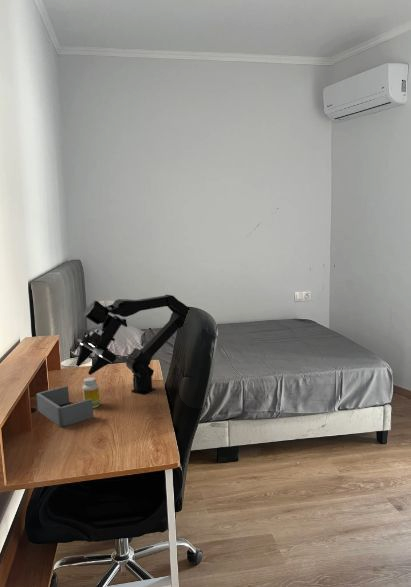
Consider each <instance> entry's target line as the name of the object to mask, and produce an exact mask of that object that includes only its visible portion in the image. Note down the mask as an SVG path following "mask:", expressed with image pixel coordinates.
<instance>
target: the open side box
mask: <svg viewBox="0 0 411 587" xmlns="http://www.w3.org/2000/svg"><path fill="white" fill-rule="evenodd" d="M35 398H36V399H35V400H36V409H37V412H39V413H40V414H42V415H43V416H45V417H46V418H47V419H48V420H50V421H51V422H52V423H54V424H55V425H57V426H58V427H60V428H63V427H67V426H70V425H72V424H77V423H79V422H82V421H83V422H84V421H86V420H89V419H94V408H93V406H92V399H88V400H84V401H83V400H81V401H77V402H75V403H71V404H70V396H69V386H68V385H64V386H60V387H57V388H56V387H55V388H53V389H52V388H51V389H48V390H43V391H41V392H37V393H35ZM65 404H66V405H65ZM67 404H68V405H67ZM62 405H64V406H62Z"/></svg>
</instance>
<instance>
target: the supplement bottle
mask: <svg viewBox="0 0 411 587" xmlns="http://www.w3.org/2000/svg"><path fill="white" fill-rule="evenodd" d="M96 382H97V379H96V377H94V376H93V377H86V378H84V379H83V385H82V387H81V388H82V389H81V390H82V401H84V400H88V399H92V406H93V409H94V408H97V407H99V406H100V404H101V402H100V393H99V384H97V383H96Z"/></svg>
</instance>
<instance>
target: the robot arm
mask: <svg viewBox="0 0 411 587" xmlns="http://www.w3.org/2000/svg"><path fill="white" fill-rule="evenodd" d="M164 307H167V308H168V309H169V311H171V312H172V313H171V315H170V317H169V321H167V323H166V324H164V326H163V327H162V328H161V329H160V330H159V331H158V332H157V333H156V334H155V335H154V336H153V337H152V338H151V339H150V340H149V341H148V342H147V343H146V345H144V346H143V347H142V348H140V349H139V348H137V347H135V348H134V349H133V350H132V352H130V354H127V356H128V357H127V358H126V361H125V363H126V367H127V368H128V370H130V371H131V373H132V375H133V376H132V377H133V378H132V382H133V389H131V390H130V391H131V392H133V393H135V394H141V395H146V394H149V393H150V392H152V391H155V390H156V387H155V386H154V387H153V381H152V379H153V378H152V377H153V375H154V371H155V370H154V369H153V368H151V367H150V365H151V362H152V359H153V357H154V356H155V354H156V353H157V352H158V351H159V350H160V349H161V348H162V347H163V346H164V345H165V344H166V343H167V342H168V340H170V338H171V337H173V335H174V334H176V332H177V331H178V330H179V329H181V328H183V327H184V326H183V324H184V321H185V318H186V315H187V313H188V310H190V309H189V307H190V306H189V305H186V304H185V303H184V302H182V301H180V300H179V299H178V298H176V297H175V295H172V294H164V295H160V296H154V297H148V298H147V297H146V298H139V299H128V298H127V299H124V298H121V299H120V298H118V299H116V300H115V301H114V302H113V303H112V304H109V305H107V306H104V305H103V304H102V303H100V301H98V300H95V299H94V300H93V301H92V302H91V303H90V304H89V305H88V306H86V308H85V309H84V311H83V314H82V315H83V317H84V318H86V319H87V320H89V321H91V322H93V323H94V324H95V325H100V324H101V326H100V327H99V328H95V330H92V331H91V330H86V329H80V330H79V334H78V337H77V340H76V341H77V345H78V347H79V353H78V357H77V360H76V363H75V365H76V366H77V367H80V366H81V365H82V364H83V363H84V362H85V361H86V360H87V359H88V358H89V357H90V356H91V355H92V354H93V353H94V351H96V353H94V361H93V363H92V364H91V365H90V366H91V367H90V368H89V370H88V372H87V374H88V375H89V376H92V375H93V374H95V373H96V372H98V371H99V370H100V369H102V368H104V367H105V366H107V365H110V364H111V363H113V364H114V363H115V362H116V360H117V354H116V353H114V352H112V351H110V349H109V348H108V346H109V345H110V344H111V342H115V341H116V339H115V338H114V337H115V335H116V334H117V332H118V331H119V329H120V328H121V326H123V327H125V328H127V327H128V323H127V319H126V318H127V317H129V316H133V315H135V314H137V313H139V312H141V311H147V310H152V309H158V308H164ZM111 314H112V315H111ZM119 316H120V317H123V318H120V317H119Z"/></svg>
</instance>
